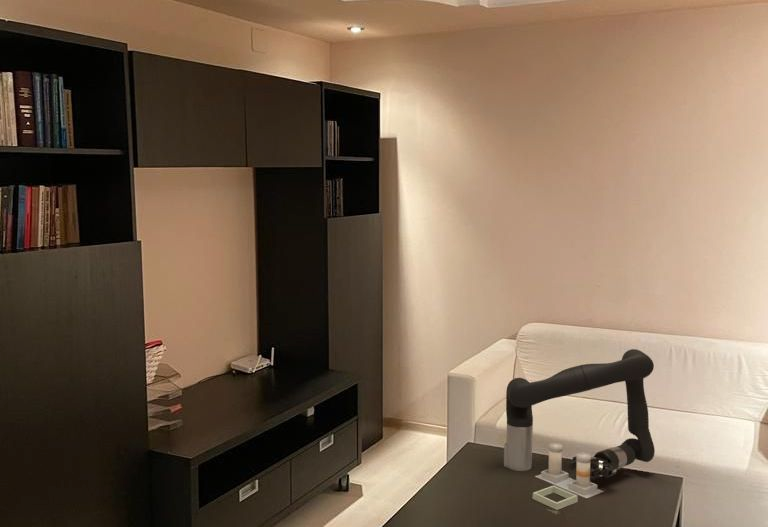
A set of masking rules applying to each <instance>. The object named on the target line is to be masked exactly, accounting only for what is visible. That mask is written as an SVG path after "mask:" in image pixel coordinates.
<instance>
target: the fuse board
mask: <svg viewBox="0 0 768 527" xmlns="http://www.w3.org/2000/svg"><path fill="white" fill-rule="evenodd" d="M561 473H562V475H559V476H557V477H555V476H553V475H550V474H548V469H544V470H542V471H540V474H538V475H535V476H534V477H535V478H538V479H540V480H542V481H545V482H547V483H549V484H552V485H554V486H556V487H558V488H561V489H563V490H565V491H568V492H570V493H572V494H575V495H577V496H579V497H582V498H585V499H588V498H591V497H594V496H596V495H599V494H601V493H604V490H601V489H599V488H598V484H596V483H594V482H592V481H590V487H587V488H585V489H584V488H582V487H579V486H577V485H576V479H574V478H571V477H570V474H569V473H568V472H566V471H564V470H562V469H561Z"/></svg>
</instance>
